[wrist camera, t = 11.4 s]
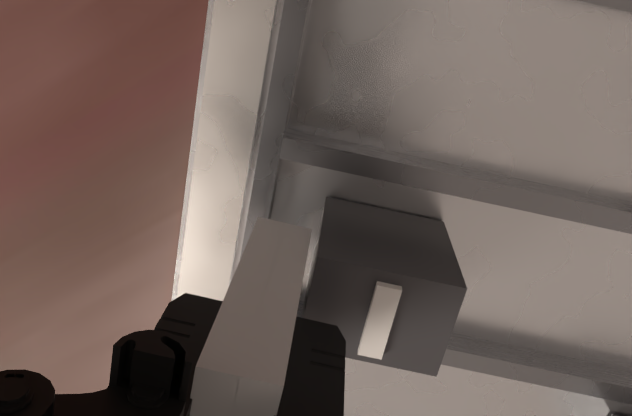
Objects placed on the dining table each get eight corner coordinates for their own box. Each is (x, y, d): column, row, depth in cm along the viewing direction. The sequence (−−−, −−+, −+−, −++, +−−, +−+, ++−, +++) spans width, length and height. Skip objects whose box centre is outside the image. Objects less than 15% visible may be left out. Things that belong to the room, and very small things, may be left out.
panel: (235, -115, 16) (214, -131, 13) (1012, 57, 16) (1123, 70, 14) (168, 400, 23) (146, 448, 20) (715, 514, 23) (755, 575, 21)
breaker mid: (326, 196, 17) (316, 260, 13) (443, 221, 17) (468, 293, 13) (309, 271, 18) (295, 352, 14) (420, 295, 18) (437, 381, 14)
